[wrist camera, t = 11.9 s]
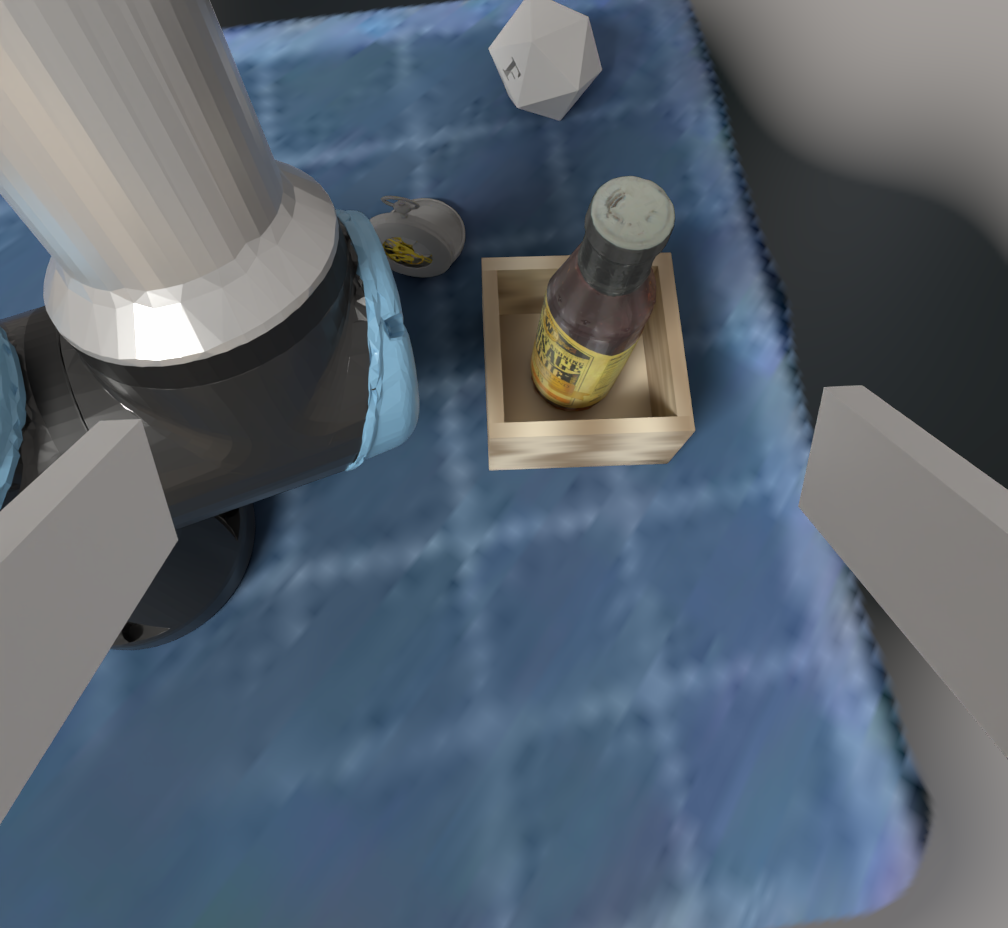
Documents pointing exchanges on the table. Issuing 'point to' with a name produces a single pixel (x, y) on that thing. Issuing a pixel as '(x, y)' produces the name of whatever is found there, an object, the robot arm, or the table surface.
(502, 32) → the die
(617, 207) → the sauce bottle
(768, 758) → the table surface
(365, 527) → the table surface
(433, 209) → the pocket watch
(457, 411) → the table surface
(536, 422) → the crate
